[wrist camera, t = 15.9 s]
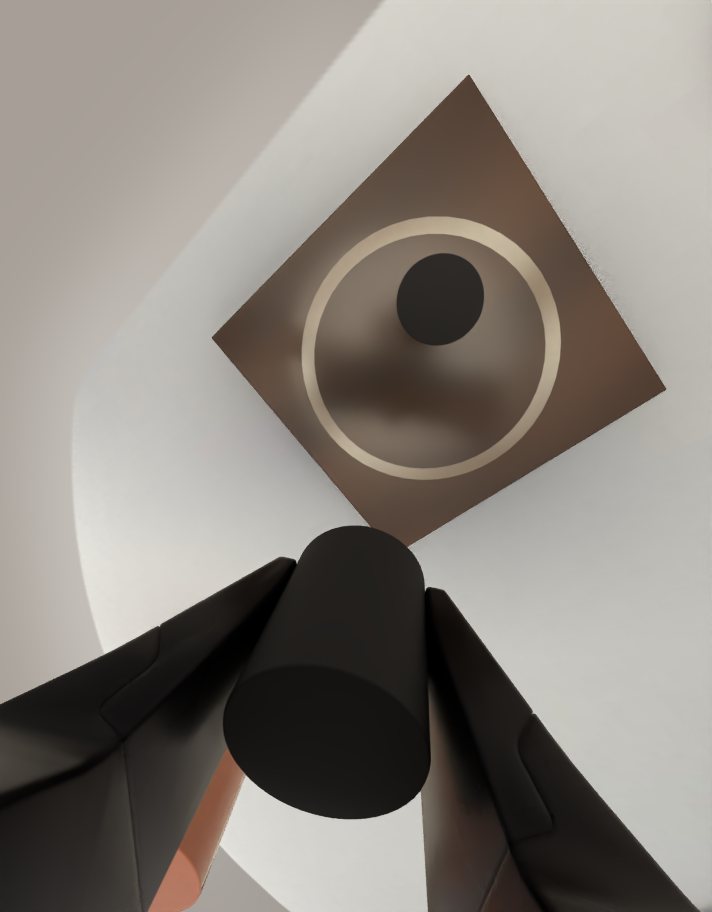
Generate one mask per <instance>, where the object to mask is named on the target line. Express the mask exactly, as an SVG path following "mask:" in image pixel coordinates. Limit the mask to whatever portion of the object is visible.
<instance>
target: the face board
mask: <svg viewBox="0 0 712 912" xmlns="http://www.w3.org/2000/svg"><path fill="white" fill-rule="evenodd" d="M438 253H450V254H454V255H458V256H460V257H462V258H464V259H466V260H467V261H468V262H470V263H471V264H472V265H473V266H474V268H475V269H476V270H477V272H478V273H479V275H480V277H481V280H482V283H483V287H484V304H483V308H482V312H481V314H480V317H479V319H478V321H477V323H476V324H475V325H474V327H473V328H472V329H471V330H470V331H469V332H468V333H467V334H466V335H465V336H464V337H462V338H461V339H459V340H457V341H455V342H453V343H450V344H447V345H440V346H432V345H427V344H424V343H421V342H419V341H417V340H416V339H414V338H413V337H411V336H410V335H409V334H408V333H407V332H406V330H405V329H404V327H403V326H402V324H401V322H400V320H399V317H398V313H397V304H396V303H397V293H398V289H399V286H400V284H401V281H402V279H403V278H404V276H405V274H406V273H407V272H408V270H409V269H410V268H411V267H412V266H413V265H414V264H416V263H417V262H418V261H420V260H421V259H423V258H425V257H427V256H430V255H433V254H438ZM212 339H213V340H214V341H215V343H216V344H217V345H218V346H219V347H220V349H221V350H222V351H223V352H224V353H225V354H226V356H227V357H228V358H229V359H230V360H231V362H232V363H233V364H234V365H235V366H236V367H237V369H238V370H239V371H240V372H241V373H242V375H243V376H244V377H245V378H246V379H247V381H248V382H249V383H250V384H251V385H252V386H253V388H254V389H255V390H256V391H257V392H258V394H259V395H260V396H261V397H262V398H263V399H264V401H265V402H266V403H267V404H268V405H269V407H270V408H271V409H272V410H273V411H274V413H275V414H276V415H277V416H278V417H279V418H280V420H281V421H282V422H283V423H284V424H285V426H286V427H287V428H288V429H289V430H290V432H291V433H292V434H293V435H294V436H295V437H296V439H297V440H298V441H299V442H300V443H301V445H302V446H303V447H304V448H305V449H306V450H307V452H308V453H309V454H310V455H311V456H312V458H313V459H314V460H315V461H316V462H317V464H318V465H319V466H320V467H321V468H322V469H323V471H324V472H325V473H326V474H327V475H328V477H329V478H330V479H331V480H332V481H333V483H334V484H335V485H336V486H337V487H338V488H339V490H340V491H341V492H342V493H343V494H344V496H345V497H346V498H347V499H348V500H349V501H350V503H351V504H352V505H353V506H354V507H355V509H356V510H357V511H358V512H359V513H360V515H361V516H362V517H363V518H364V519H365V520H366V522H367V523H368V524H369V525H370V526H371V528H375V529H378V530H381V531H384V532H386V533H388V534H390V535H392V536H393V537H395V538H396V539H398V540H399V541H401V542H402V543H403V544H404V545H405V546H406V547H408V546H409V545H411V544H413V543H414V542H416V541H418V540H419V539H421V538H423V537H424V536H426V535H427V534H429V533H431V532H432V531H434V530H436V529H437V528H439V527H441V526H442V525H444V524H446V523H447V522H449V521H451V520H452V519H454V518H456V517H457V516H459V515H460V514H462V513H464V512H465V511H467V510H469V509H470V508H472V507H474V506H475V505H477V504H479V503H480V502H482V501H484V500H485V499H487V498H488V497H490V496H492V495H493V494H495V493H497V492H498V491H500V490H502V489H503V488H505V487H507V486H508V485H510V484H512V483H513V482H515V481H516V480H518V479H520V478H521V477H523V476H525V475H526V474H528V473H530V472H531V471H533V470H535V469H536V468H538V467H540V466H541V465H543V464H544V463H546V462H548V461H549V460H551V459H553V458H554V457H556V456H558V455H559V454H561V453H563V452H564V451H566V450H568V449H569V448H571V447H573V446H574V445H576V444H577V443H579V442H581V441H582V440H584V439H586V438H587V437H589V436H591V435H592V434H594V433H596V432H597V431H599V430H601V429H602V428H604V427H605V426H607V425H609V424H610V423H612V422H614V421H615V420H617V419H619V418H620V417H622V416H624V415H625V414H627V413H629V412H630V411H632V410H633V409H635V408H637V407H638V406H640V405H642V404H643V403H645V402H647V401H648V400H650V399H652V398H653V397H655V396H657V395H658V394H660V393H661V392H663V391H665V390H666V388H665V386H664V384H663V383H662V381H661V380H660V378H659V376H658V375H657V373H656V372H655V370H654V369H653V367H652V365H651V364H650V362H649V361H648V359H647V357H646V356H645V354H644V353H643V351H642V349H641V348H640V346H639V345H638V343H637V341H636V340H635V338H634V337H633V335H632V333H631V332H630V330H629V329H628V327H627V325H626V324H625V322H624V321H623V319H622V317H621V316H620V314H619V313H618V311H617V309H616V308H615V306H614V305H613V303H612V302H611V300H610V298H609V297H608V295H607V294H606V292H605V290H604V289H603V287H602V286H601V284H600V282H599V281H598V279H597V278H596V276H595V274H594V273H593V271H592V270H591V268H590V266H589V265H588V263H587V262H586V260H585V258H584V257H583V255H582V254H581V252H580V250H579V249H578V247H577V246H576V244H575V243H574V241H573V239H572V238H571V236H570V235H569V233H568V231H567V230H566V228H565V227H564V225H563V223H562V222H561V220H560V219H559V217H558V215H557V214H556V212H555V211H554V209H553V207H552V206H551V204H550V203H549V201H548V199H547V198H546V196H545V195H544V193H543V191H542V190H541V188H540V187H539V185H538V184H537V182H536V180H535V179H534V177H533V176H532V174H531V172H530V171H529V169H528V168H527V166H526V164H525V163H524V161H523V160H522V158H521V156H520V155H519V153H518V152H517V150H516V148H515V147H514V145H513V144H512V142H511V140H510V139H509V137H508V136H507V134H506V132H505V131H504V129H503V128H502V126H501V125H500V123H499V121H498V120H497V118H496V117H495V115H494V113H493V112H492V110H491V109H490V107H489V105H488V104H487V102H486V101H485V99H484V97H483V96H482V94H481V93H480V91H479V89H478V88H477V86H476V85H475V83H474V81H473V80H472V78H471V77H470V75H468V76H467V77H466V78H465V79H464V80H463V81H462V82H461V83H460V84H459V85H458V86H457V87H456V88H455V89H454V90H453V91H452V92H451V93H450V94H449V95H448V96H447V97H446V98H445V99H444V100H443V101H442V102H441V103H440V104H439V105H438V106H437V107H436V108H435V109H434V110H433V111H432V112H431V114H430V115H429V116H428V117H427V118H426V119H425V120H424V121H423V122H422V123H421V124H420V125H419V126H418V127H417V128H416V129H415V130H414V131H413V132H412V133H411V134H410V135H409V136H408V137H407V138H406V139H405V140H404V141H403V142H402V143H401V144H400V145H399V146H398V147H397V148H396V149H395V150H394V151H393V152H392V153H391V154H390V155H389V156H388V158H387V159H386V160H385V161H384V162H383V163H382V164H381V165H380V166H379V167H378V168H377V169H376V170H375V171H374V172H373V173H372V174H371V175H370V176H369V177H368V178H367V179H366V180H365V181H364V182H363V183H362V184H361V185H360V186H359V187H358V188H357V189H356V190H355V191H354V192H353V193H352V194H351V195H350V196H349V197H348V198H347V199H346V200H345V202H344V203H343V204H342V205H341V206H340V207H339V208H338V209H337V210H336V211H335V212H334V213H333V214H332V215H331V216H330V217H329V218H328V219H327V220H326V221H325V222H324V223H323V224H322V225H321V226H320V227H319V228H318V229H317V230H316V231H315V232H314V233H313V234H312V235H311V236H310V237H309V238H308V239H307V240H306V241H305V242H304V243H303V244H302V246H301V247H300V248H299V249H298V250H297V251H296V252H295V253H294V254H293V255H292V256H291V257H290V258H289V259H288V260H287V261H286V262H285V263H284V264H283V265H282V266H281V267H280V268H279V269H278V270H277V271H276V272H275V273H274V274H273V275H272V276H271V277H270V278H269V279H268V280H267V281H266V282H265V283H264V284H263V285H262V286H261V287H260V288H259V290H258V291H257V292H256V293H255V294H254V295H253V296H252V297H251V298H250V299H249V300H248V301H247V302H246V303H245V304H244V305H243V306H242V307H241V308H240V309H239V310H238V311H237V312H236V313H235V314H234V315H233V316H232V317H231V318H230V319H229V320H228V321H227V322H226V323H225V324H224V325H223V326H222V327H221V328H220V329H219V330H218V331H217V332H216V334H215V335H214V336H213V337H212Z"/></svg>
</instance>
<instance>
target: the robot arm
mask: <svg viewBox="0 0 712 912" xmlns="http://www.w3.org/2000/svg"><path fill="white" fill-rule="evenodd" d="M296 565H297V563H296V560H295V559H291V558H286V557H279V558H277V559H275V560H273V561H271V562H270V563H268V564H266V565H264V566H263V567H261V568H259V569H257V570H256V571H254V572H252V573H250V574H248V575H247V576H245V577H243V578H241V579H240V580H238V581H236V582H234V583H233V584H231V585H229V586H227V587H226V588H224V589H222V590H220V591H219V592H217V593H215V594H213V595H211V596H210V597H208V598H206V599H204V600H203V601H201V602H199V603H197V604H196V605H194V606H192V607H190V608H189V609H187V610H185V611H183V612H181V613H180V614H178V615H176V616H174V617H173V618H171V619H169V620H167V621H166V622H164V623H162V624H161V625H160V627H159V626H157V627H155V628H153V629H151V630H149V631H148V632H146V633H144V634H142V635H141V636H139V637H137V638H135V639H133V640H131V641H130V642H128V643H126V644H124V645H122V646H120V647H118V648H117V649H115V650H113V651H111V652H109V653H107V654H105V655H103V656H101V657H99V658H97V659H95V660H93V661H91V662H88V663H86V664H84V665H82V666H80V667H78V668H76V669H74V670H72V671H70V672H68V673H66V674H63V675H61V676H60V677H57V678H55V679H53V680H51V681H49V682H47V683H45V684H42V685H40V686H38V687H36V688H34V689H32V690H30V691H28V692H25V693H23V694H21V695H19V696H17V697H15V698H13V699H11V700H9V701H6V702H4V703H2V704H0V912H148V910H149V908H150V906H151V904H152V902H153V900H154V898H155V896H156V894H157V892H158V889H159V887H160V885H161V883H162V881H163V879H164V877H165V875H166V873H167V871H168V869H169V867H170V865H171V863H172V861H173V859H174V856H175V854H176V852H177V850H178V848H179V846H180V844H181V842H182V840H183V838H184V836H185V834H186V832H187V830H188V828H189V826H190V823H191V821H192V819H193V817H194V815H195V813H196V811H197V809H198V807H199V805H200V803H201V801H202V799H203V797H204V795H205V793H206V790H207V788H208V786H209V784H210V782H211V780H212V778H213V776H214V774H215V772H216V770H217V768H218V766H219V764H220V762H221V759H222V757H223V755H224V753H225V751H226V749H227V745H226V742H225V738H224V734H223V712H224V709H225V705H226V702H227V700H228V698H229V696H230V694H231V692H232V690H233V688H234V686H235V684H236V682H237V680H238V678H239V676H240V674H241V672H242V670H243V668H244V666H245V665H246V663H247V661H248V659H249V657H250V655H251V653H252V651H253V649H254V647H255V645H256V643H257V641H258V639H259V637H260V635H261V633H262V631H263V629H264V627H265V625H266V624H267V622H268V620H269V618H270V616H271V614H272V612H273V610H274V608H275V606H276V604H277V602H278V600H279V598H280V596H281V594H282V592H283V590H284V588H285V586H286V585H287V583H288V581H289V579H290V577H291V575H292V573H293V571H294V569H295V567H296ZM425 610H426V637H427V664H428V691H429V718H430V745H431V765H430V771H429V774H428V777H427V780H426V782H425V784H424V786H423V787H422V789H421V800H422V817H423V834H424V851H425V869H426V886H427V903H428V912H700V911H699V910H698V909H697V908H696V907H695V906H694V905H693V904H692V903H691V901H690V900H689V899H688V898H687V897H686V896H685V895H684V894H683V893H682V891H681V890H680V889H679V888H678V887H677V886H676V885H675V884H674V882H673V881H672V880H671V879H670V878H669V876H668V875H667V874H666V873H665V872H664V871H663V869H662V868H661V867H660V866H659V865H658V864H657V862H656V861H655V860H654V859H653V858H652V857H651V855H650V854H649V853H648V852H647V851H646V850H645V848H644V847H643V846H642V845H641V844H640V843H639V841H638V840H637V839H636V838H635V837H634V835H633V834H632V833H631V832H630V831H629V830H628V828H627V827H626V826H625V825H624V824H623V823H622V821H621V820H620V819H619V818H618V817H617V816H616V814H615V813H614V812H613V811H612V810H611V809H610V807H609V806H608V805H607V804H606V803H605V802H604V800H603V799H602V798H601V797H600V796H599V794H598V793H597V792H596V791H595V790H594V788H593V787H592V786H591V785H590V784H589V782H588V781H587V780H586V779H585V778H584V776H583V775H582V774H581V773H580V771H579V770H578V769H577V768H576V767H575V765H574V764H573V763H572V762H571V761H570V759H569V758H568V757H567V755H566V754H565V753H564V751H563V750H562V749H561V747H560V746H559V745H558V744H557V742H556V741H555V740H554V738H553V737H552V736H551V734H550V733H549V732H548V730H547V729H546V728H545V726H544V725H543V724H542V722H541V721H540V720H539V718H538V717H537V715H536V714H532V713H533V711H532V709H531V708H530V706H529V705H528V703H527V702H526V701H525V699H524V698H523V697H522V695H521V694H520V693H519V691H518V690H517V688H516V687H515V686H514V684H513V683H512V682H511V680H510V679H509V678H508V676H507V675H506V673H505V672H504V671H503V669H502V668H501V667H500V665H499V664H498V663H497V661H496V660H495V658H494V657H493V656H492V654H491V653H490V652H489V650H488V649H487V648H486V646H485V645H484V644H483V642H482V641H481V639H480V638H479V637H478V635H477V634H476V633H475V631H474V630H473V629H472V627H471V626H470V624H469V623H468V622H467V620H466V619H465V618H464V616H463V615H462V614H461V612H460V611H459V609H458V608H457V607H456V605H455V604H454V603H453V601H452V600H451V599H450V597H449V596H448V594H447V593H446V592H445V591H444V590H442V589H437V588H432V587H428V588H427V589H426V591H425Z"/></svg>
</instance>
